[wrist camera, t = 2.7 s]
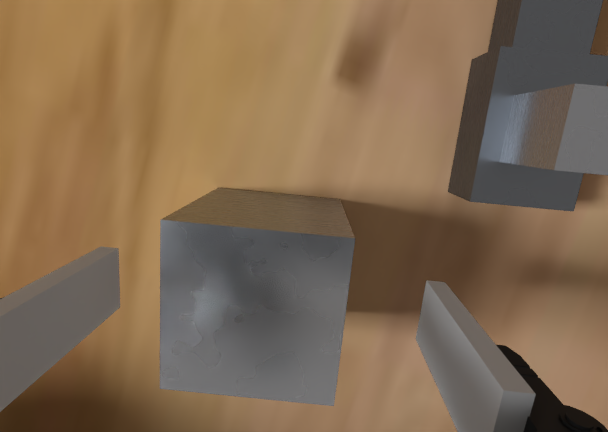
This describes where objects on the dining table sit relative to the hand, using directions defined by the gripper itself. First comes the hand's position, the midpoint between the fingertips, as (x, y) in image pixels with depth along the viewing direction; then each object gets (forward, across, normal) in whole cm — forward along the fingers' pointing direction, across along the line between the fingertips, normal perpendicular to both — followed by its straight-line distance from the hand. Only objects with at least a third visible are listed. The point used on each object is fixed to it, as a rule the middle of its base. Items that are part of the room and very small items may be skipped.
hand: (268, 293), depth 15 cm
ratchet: (+7, +11, +16) cm, 21 cm away
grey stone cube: (+6, 0, 0) cm, 6 cm away
